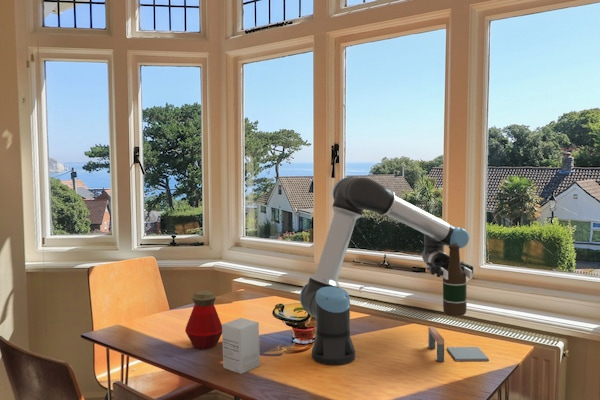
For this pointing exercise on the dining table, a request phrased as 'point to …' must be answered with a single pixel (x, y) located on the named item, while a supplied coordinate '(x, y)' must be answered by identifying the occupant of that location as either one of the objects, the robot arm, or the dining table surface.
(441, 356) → the hurdle posts
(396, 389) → the dining table surface
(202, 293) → the red faceted jar
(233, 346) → the supplement box
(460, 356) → the grey mat
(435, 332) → the hurdle bar
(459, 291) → the beer bottle
